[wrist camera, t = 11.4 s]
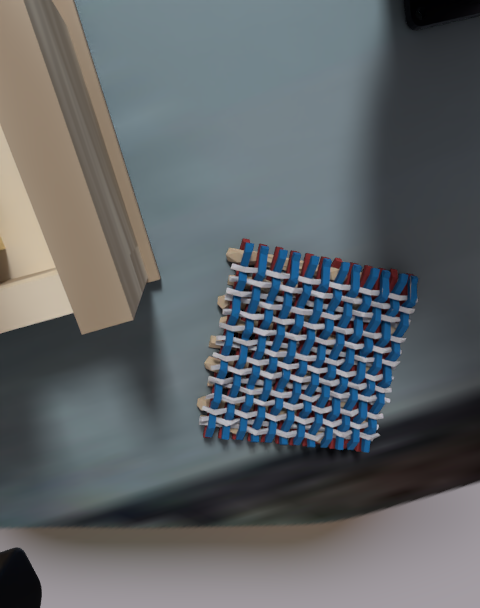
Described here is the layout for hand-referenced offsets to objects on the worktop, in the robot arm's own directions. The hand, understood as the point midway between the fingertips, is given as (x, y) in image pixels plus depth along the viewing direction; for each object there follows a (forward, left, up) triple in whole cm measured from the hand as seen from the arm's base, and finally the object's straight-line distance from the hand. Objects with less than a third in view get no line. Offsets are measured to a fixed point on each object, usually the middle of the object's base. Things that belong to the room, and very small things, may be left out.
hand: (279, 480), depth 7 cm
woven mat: (-4, +4, -14) cm, 15 cm away
